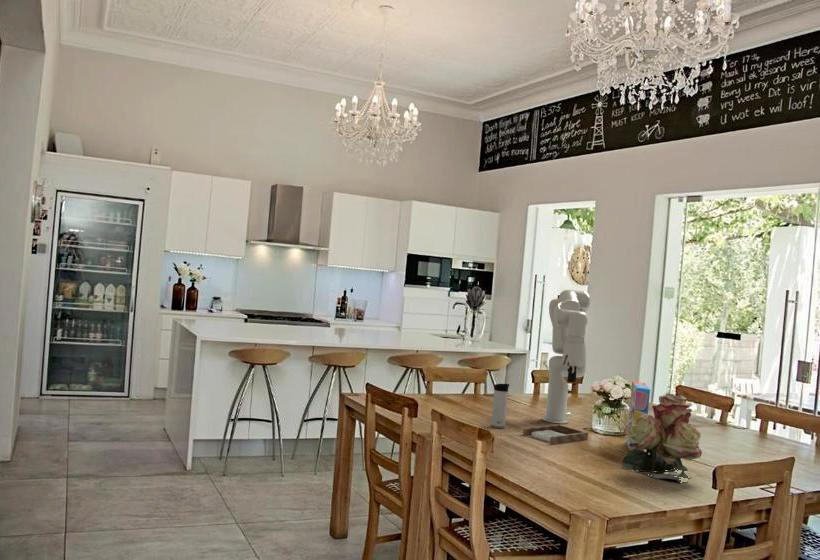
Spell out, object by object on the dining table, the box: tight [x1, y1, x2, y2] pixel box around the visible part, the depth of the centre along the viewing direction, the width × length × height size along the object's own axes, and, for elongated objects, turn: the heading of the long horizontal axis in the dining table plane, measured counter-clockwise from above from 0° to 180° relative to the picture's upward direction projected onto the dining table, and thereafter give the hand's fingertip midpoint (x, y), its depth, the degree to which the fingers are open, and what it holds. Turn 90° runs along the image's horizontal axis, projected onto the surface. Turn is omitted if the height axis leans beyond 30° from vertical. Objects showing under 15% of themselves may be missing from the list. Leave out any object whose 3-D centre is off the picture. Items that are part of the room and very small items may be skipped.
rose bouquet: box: [621, 392, 703, 483], centre depth 279 cm, size 26×29×30 cm
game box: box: [625, 381, 651, 453], centre depth 316 cm, size 21×6×27 cm, turn 168°
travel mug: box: [490, 383, 510, 429], centre depth 333 cm, size 6×7×20 cm
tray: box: [522, 424, 589, 445], centre depth 321 cm, size 24×16×4 cm, turn 131°
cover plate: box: [531, 430, 565, 442], centre depth 318 cm, size 12×10×2 cm
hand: (571, 381), depth 325 cm, fingers closed
